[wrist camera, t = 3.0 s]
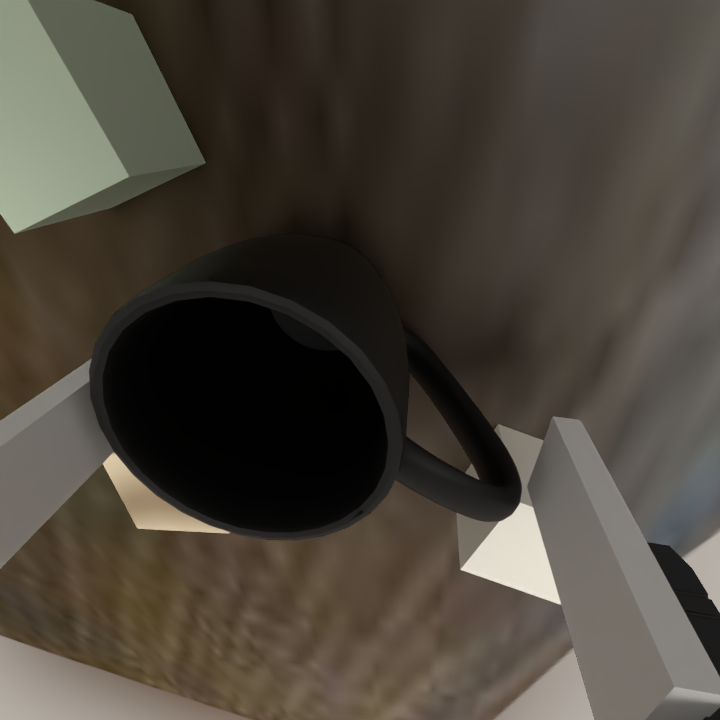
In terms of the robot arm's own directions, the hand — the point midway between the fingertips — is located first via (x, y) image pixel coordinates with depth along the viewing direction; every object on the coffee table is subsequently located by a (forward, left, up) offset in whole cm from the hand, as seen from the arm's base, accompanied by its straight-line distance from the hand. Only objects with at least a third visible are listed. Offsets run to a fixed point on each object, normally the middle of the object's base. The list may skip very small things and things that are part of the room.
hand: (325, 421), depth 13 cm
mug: (0, 0, -7) cm, 7 cm away
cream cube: (+8, +9, -7) cm, 14 cm away
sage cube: (-7, -10, -7) cm, 14 cm away
